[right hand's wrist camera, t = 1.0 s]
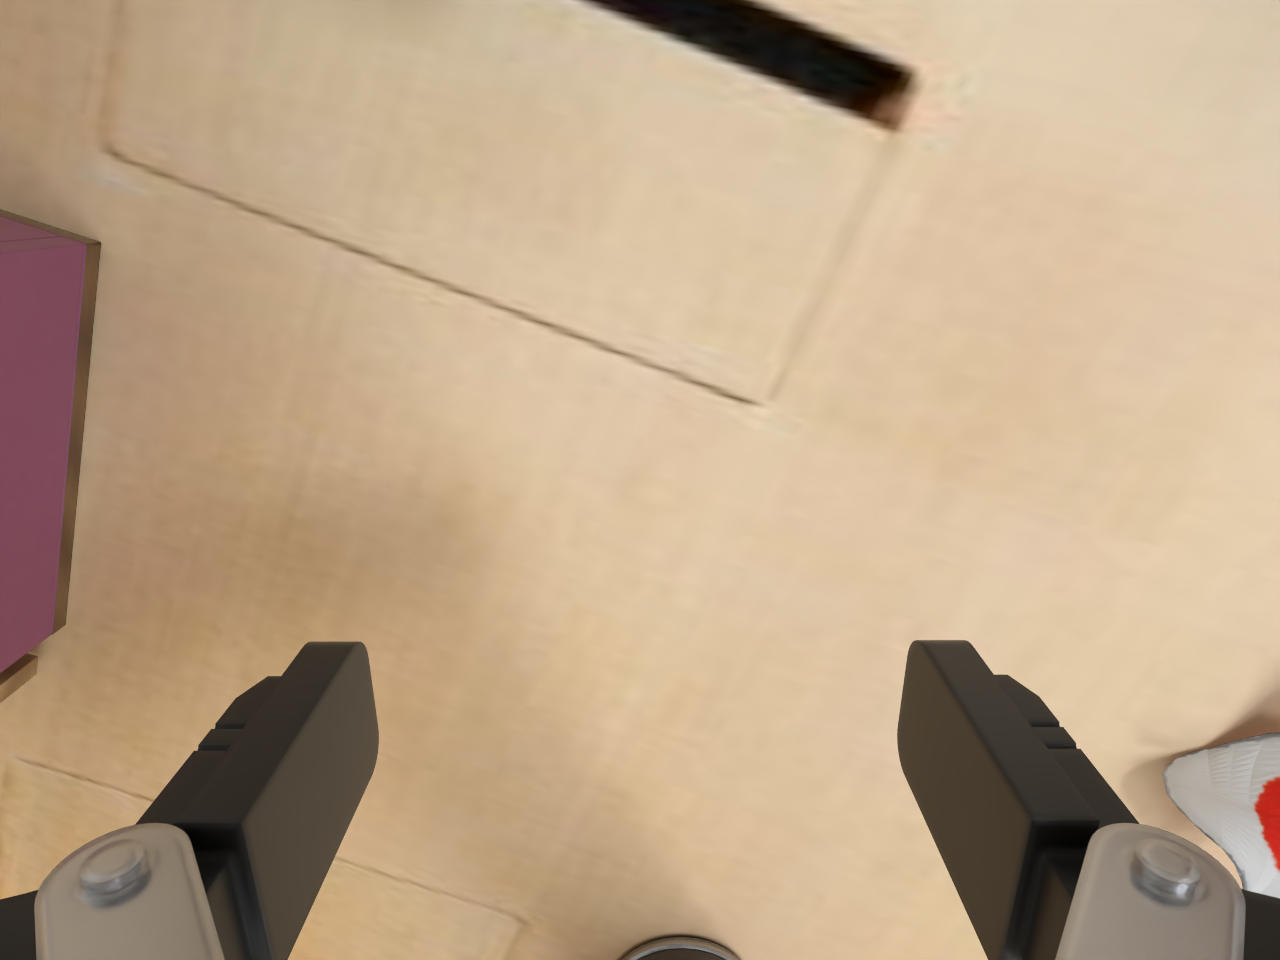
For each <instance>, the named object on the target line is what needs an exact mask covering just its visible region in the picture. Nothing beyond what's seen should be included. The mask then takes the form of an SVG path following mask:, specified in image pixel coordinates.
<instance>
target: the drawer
mask: <svg viewBox="0 0 1280 960" xmlns="http://www.w3.org/2000/svg"><path fill="white" fill-rule="evenodd" d="M37 660H38V657H37V656H34V655H31V654H27V653H26V654H25V655H24V656H22V657H21V658H20V659H18V660H17V661H16V662H14V663H13V664H12V665H10V666H9V667H8V668H6V669H5V670H4V671H3V672H1V673H0V703H1V702H2V701H3V700H5V699H6V698H7V697H8V696H10V695H11V694H12V693H13V692H15V691H16V690H17V689H18V688H19V687H21V686H22V685H23V684H24V683H26V682H27V681H28V680H29V679H31V678H32V677H33V676H34V675H36V673H37Z"/></svg>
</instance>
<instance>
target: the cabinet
mask: <svg viewBox="0 0 1280 960" xmlns="http://www.w3.org/2000/svg"><path fill="white" fill-rule="evenodd" d="M100 246H101V242H98V241H95V240H92V239H89V238H86V237H83V236H80V235H77V234H74V233H71V232H67V231H64V230H61V229H58V228H55V227H52V226H49V225H46V224H43V223H40V222H37V221H34V220H31V219H28V218H24V217H21V216H18V215H15V214H12V213H9V212H6V211H3V210H0V673H1V672H3V671H4V670H5V669H6V668H8V667H9V666H10V665H12V664H13V663H14V662H16V661H17V660H18V659H20V658H21V657H22V656H24V655H25V654H26V653H28V652H29V651H30V650H31V649H33V648H34V647H35V646H37V645H38V644H39V643H41V642H42V641H43V640H45V639H46V638H47V637H49V636H50V635H51V634H54V633H55V632H57V631H58V630H59V629H60V628H62V627H63V626H64V625H65V622H66V611H67V601H68V590H69V579H70V568H71V558H72V547H73V536H74V525H75V515H76V504H77V493H78V482H79V472H80V461H81V450H82V439H83V429H84V418H85V407H86V396H87V385H88V375H89V364H90V353H91V342H92V332H93V321H94V310H95V299H96V289H97V278H98V267H99V256H100Z"/></svg>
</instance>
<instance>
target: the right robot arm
mask: <svg viewBox="0 0 1280 960" xmlns="http://www.w3.org/2000/svg"><path fill="white" fill-rule="evenodd" d="M897 739H898V751H899V758H900V762H901V766H902V769H903V772H904V775H905V777H906V779H907V781H908V784H909V786H910V788H911V790H912V792H913V795H914V797H915V799H916V801H917V803H918V806H919V808H920V810H921V812H922V814H923V817H924V819H925V821H926V823H927V825H928V828H929V830H930V832H931V834H932V837H933V839H934V841H935V843H936V845H937V848H938V850H939V852H940V854H941V856H942V859H943V861H944V863H945V865H946V867H947V870H948V872H949V874H950V876H951V878H952V881H953V883H954V885H955V887H956V889H957V892H958V894H959V896H960V898H961V901H962V903H963V905H964V907H965V909H966V912H967V914H968V916H969V918H970V920H971V923H972V925H973V927H974V929H975V931H976V934H977V936H978V938H979V940H980V942H981V945H982V947H983V949H984V951H985V953H986V956H987V958H988V960H1280V898H1276V897H1272V896H1268V895H1264V894H1260V893H1255V892H1251V891H1247V890H1244V889H1241V888H1240V886H1239V885H1238V883H1237V881H1236V880H1235V879H1234V877H1233V876H1232V875H1231V874H1230V872H1229V871H1228V870H1227V869H1226V868H1225V867H1224V866H1223V865H1222V864H1221V863H1220V862H1219V861H1217V860H1216V859H1215V858H1214V857H1212V856H1211V855H1210V854H1209V853H1207V852H1206V851H1204V850H1203V849H1201V848H1200V847H1198V846H1197V845H1195V844H1193V843H1191V842H1189V841H1188V840H1186V839H1184V838H1182V837H1180V836H1177V835H1175V834H1173V833H1170V832H1168V831H1165V830H1162V829H1159V828H1155V827H1151V826H1147V825H1142V824H1139V823H1138V821H1137V820H1136V819H1135V818H1134V816H1133V815H1132V814H1131V812H1130V811H1129V810H1128V809H1127V807H1126V806H1125V805H1124V804H1123V802H1122V801H1121V800H1120V799H1119V797H1118V796H1117V795H1116V793H1115V792H1114V791H1113V790H1112V788H1111V787H1110V786H1109V785H1108V783H1107V782H1106V781H1105V780H1104V778H1103V777H1102V776H1101V774H1100V773H1099V772H1098V771H1097V769H1096V768H1095V767H1094V766H1093V764H1092V763H1091V762H1090V761H1089V759H1088V758H1087V757H1086V755H1085V754H1084V753H1083V752H1082V750H1081V749H1077V748H1076V743H1075V741H1074V740H1073V739H1072V738H1071V736H1070V735H1069V734H1068V733H1067V731H1066V730H1065V729H1064V728H1063V727H1060V726H1059V721H1058V720H1057V719H1056V717H1055V716H1054V715H1053V714H1052V712H1051V711H1050V710H1049V709H1048V707H1047V706H1046V705H1045V703H1044V702H1043V701H1042V700H1041V698H1040V697H1039V696H1037V695H1036V694H1035V693H1033V692H1032V691H1030V690H1029V689H1027V688H1026V687H1024V686H1023V685H1021V684H1020V683H1019V682H1017V681H1016V680H1014V679H1013V678H1011V677H1010V676H1008V675H994V674H993V673H992V672H991V670H990V669H989V668H988V666H987V665H986V663H985V662H984V661H983V659H982V658H981V657H980V655H979V654H978V653H977V651H976V650H975V648H974V647H973V646H972V645H971V643H969V642H968V641H965V640H916V641H914V642H912V644H911V646H910V648H909V651H908V656H907V663H906V671H905V678H904V685H903V693H902V700H901V708H900V715H899V722H898V733H897ZM378 744H379V732H378V723H377V716H376V709H375V701H374V694H373V687H372V680H371V673H370V665H369V658H368V653H367V650H366V647H365V645H364V644H363V643H362V642H308V643H307V644H305V645H304V647H303V648H302V649H301V650H300V652H299V653H298V655H297V656H296V657H295V659H294V660H293V661H292V663H291V664H290V665H289V667H288V668H287V669H286V671H285V672H284V673H283V675H282V676H268V677H266V678H265V679H263V680H262V681H260V682H259V683H258V684H256V685H255V686H253V687H252V688H250V689H249V690H247V691H246V692H244V693H243V694H242V695H240V696H239V697H237V698H236V699H235V700H234V701H233V703H232V704H231V705H230V706H229V708H228V709H227V710H226V711H225V713H224V714H223V715H222V716H221V718H220V719H219V720H218V721H217V723H216V727H215V729H211V730H210V732H209V733H208V734H207V735H206V737H205V738H204V739H203V740H202V742H201V743H200V744H199V745H198V746H199V748H198V751H194V752H193V753H192V754H191V755H190V757H189V758H188V759H187V760H186V762H185V763H184V764H183V765H182V767H181V768H180V769H179V770H178V772H177V773H176V774H175V775H174V777H173V778H172V779H171V780H170V782H169V783H168V784H167V786H166V787H165V788H164V789H163V791H162V792H161V793H160V794H159V796H158V797H157V798H156V799H155V801H154V802H153V803H152V804H151V806H150V807H149V808H148V809H147V811H146V812H145V813H144V814H143V816H142V817H141V818H140V819H139V821H138V822H137V823H136V824H135V825H133V826H129V827H125V828H121V829H118V830H115V831H112V832H110V833H107V834H105V835H103V836H100V837H98V838H96V839H94V840H92V841H91V842H89V843H87V844H85V845H83V846H82V847H80V848H79V849H77V850H76V851H74V852H73V853H71V854H70V855H69V856H68V857H66V858H65V859H64V860H63V861H61V862H60V863H59V864H58V865H57V866H56V867H55V868H54V869H53V870H52V871H51V872H50V874H49V875H48V876H47V877H46V879H45V880H44V881H43V883H42V885H41V886H40V888H39V890H36V891H33V892H29V893H26V894H22V895H17V896H13V897H9V898H5V899H1V900H0V960H287V959H288V957H289V955H290V953H291V951H292V949H293V946H294V944H295V942H296V940H297V938H298V935H299V933H300V931H301V929H302V927H303V925H304V922H305V920H306V918H307V916H308V914H309V912H310V909H311V907H312V905H313V903H314V901H315V898H316V896H317V894H318V892H319V890H320V888H321V885H322V883H323V881H324V879H325V877H326V874H327V872H328V870H329V868H330V866H331V864H332V861H333V859H334V857H335V855H336V853H337V850H338V848H339V846H340V844H341V842H342V840H343V837H344V835H345V833H346V831H347V829H348V826H349V824H350V822H351V820H352V818H353V816H354V813H355V811H356V809H357V807H358V805H359V803H360V800H361V798H362V796H363V794H364V792H365V789H366V787H367V785H368V783H369V781H370V779H371V776H372V774H373V771H374V768H375V764H376V759H377V753H378ZM622 960H739V959H738V958H737V957H736V956H735V955H734V954H733V953H732V952H730V951H729V950H727V949H725V948H724V947H722V946H720V945H718V944H715V943H713V942H710V941H706V940H702V939H698V938H690V937H673V938H665V939H660V940H656V941H652V942H649V943H647V944H644V945H642V946H640V947H638V948H636V949H634V950H633V951H631V952H630V953H629V954H627V955H626V956H625V957H624V958H623V959H622Z"/></svg>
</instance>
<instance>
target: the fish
mask: <svg viewBox="0 0 1280 960" xmlns="http://www.w3.org/2000/svg"><path fill="white" fill-rule="evenodd" d="M1162 775H1163V779H1164V783H1165V787H1166V791H1167V795H1168V796H1169V797H1170V799H1171V800H1172V801H1173V802H1174V804H1175V805H1176V806H1177V807H1178V808H1179V809H1180V810H1181V811H1182V813H1183V814H1184V815H1185V816H1186V817H1187V818H1188V819H1189V820H1190V821H1191V822H1192V823H1193V824H1194V825H1195V826H1197V827H1198V828H1199V829H1200V830H1201V831H1202V832H1203V833H1204V834H1205V835H1206V836H1207V837H1209V838H1210V839H1211V840H1212V841H1213V842H1215V843H1216V844H1217V845H1218V846H1219V847H1221V848H1222V849H1223V850H1224V851H1225V853H1226V854H1227V855H1228V857H1229V858H1230V859H1231V860H1232V862H1233V863H1234V864H1235V867H1236V869H1237V871H1238V874H1239V876H1240V878H1241V881H1242V886H1243V889H1244V890H1247V891H1251V892H1255V893H1260V894H1264V895H1268V896H1272V897H1276V898H1280V733H1268V734H1263V735H1259V736H1255V737H1250V738H1246V739H1241V740H1237V741H1233V742H1230V743H1226V744H1222V745H1219V746H1215V747H1211V748H1208V749H1204V750H1199V751H1195V752H1191V753H1188V754H1186V755H1183V756H1181V757H1178V758H1176V759H1174V760H1173V761H1172V762H1171V763H1170V764H1169V765H1168V766H1167V767H1166V768H1165V770H1164V772H1163V773H1162Z"/></svg>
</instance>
